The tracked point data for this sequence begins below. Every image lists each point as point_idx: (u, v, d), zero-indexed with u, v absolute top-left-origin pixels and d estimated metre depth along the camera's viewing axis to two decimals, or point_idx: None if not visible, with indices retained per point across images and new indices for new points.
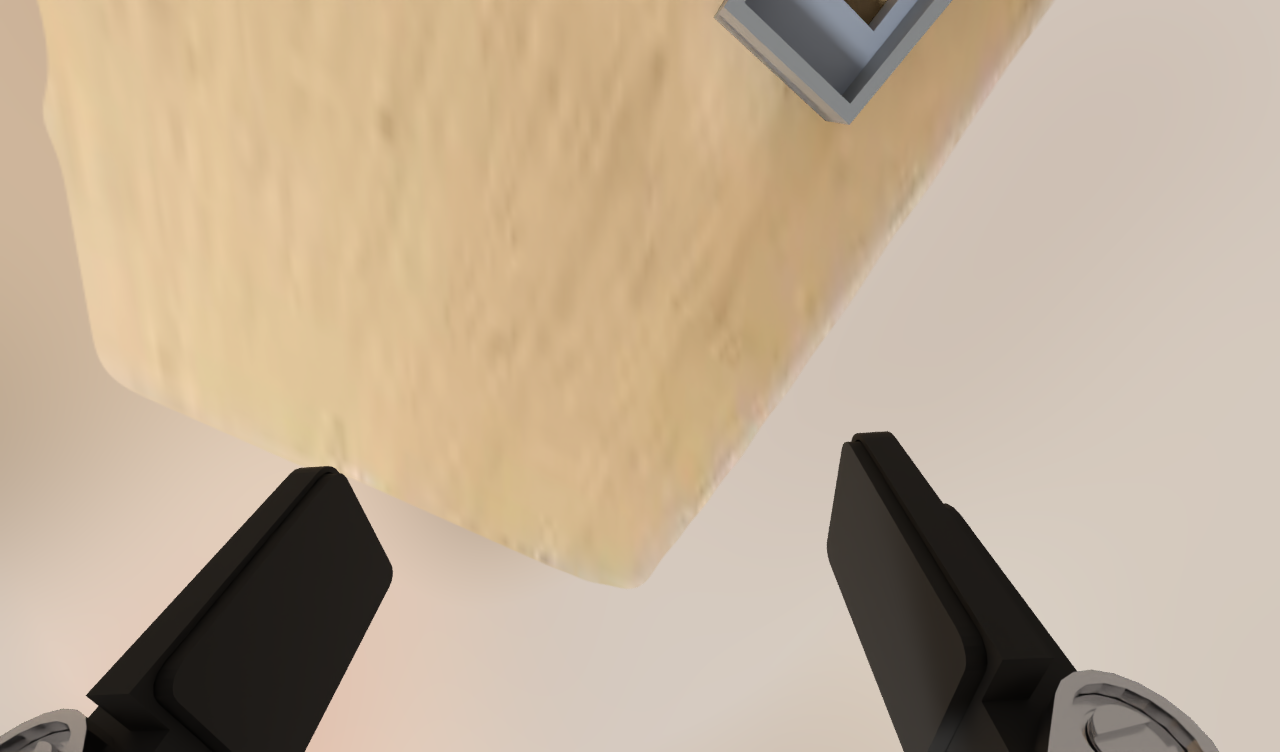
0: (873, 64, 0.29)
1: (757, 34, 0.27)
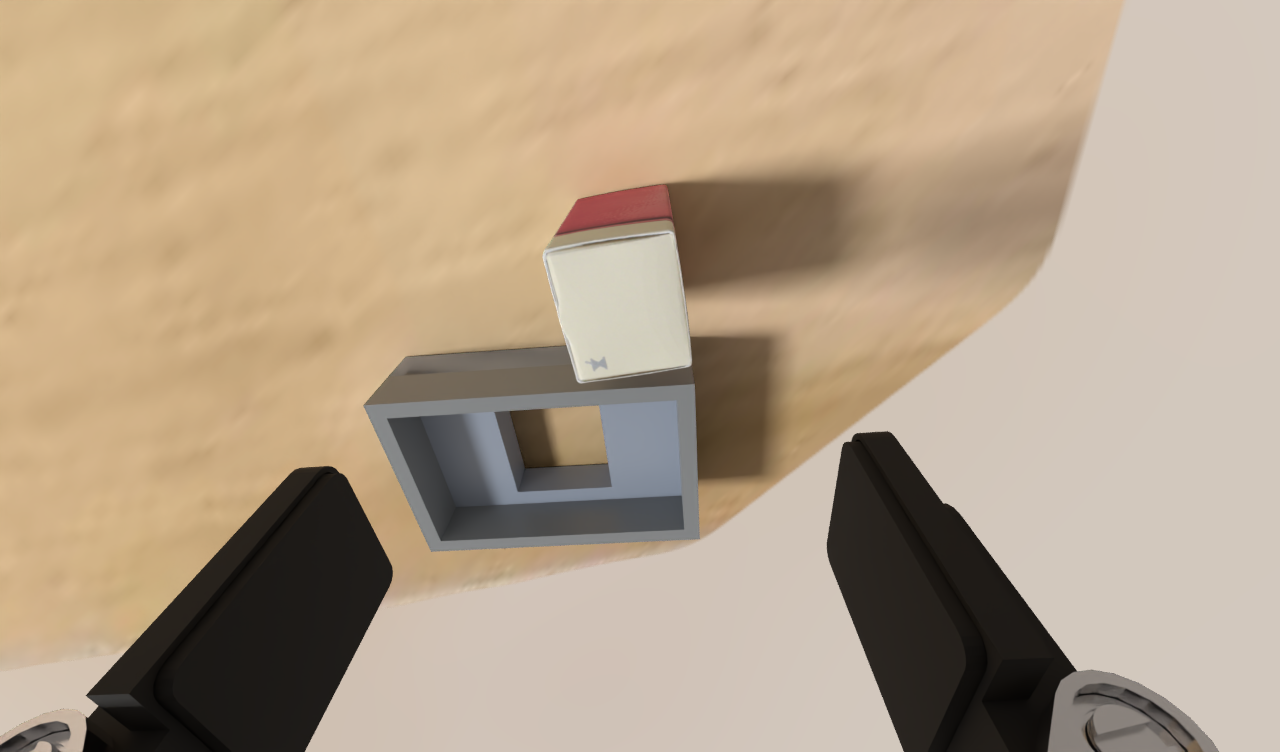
0: (491, 520, 0.28)
1: (384, 445, 0.23)
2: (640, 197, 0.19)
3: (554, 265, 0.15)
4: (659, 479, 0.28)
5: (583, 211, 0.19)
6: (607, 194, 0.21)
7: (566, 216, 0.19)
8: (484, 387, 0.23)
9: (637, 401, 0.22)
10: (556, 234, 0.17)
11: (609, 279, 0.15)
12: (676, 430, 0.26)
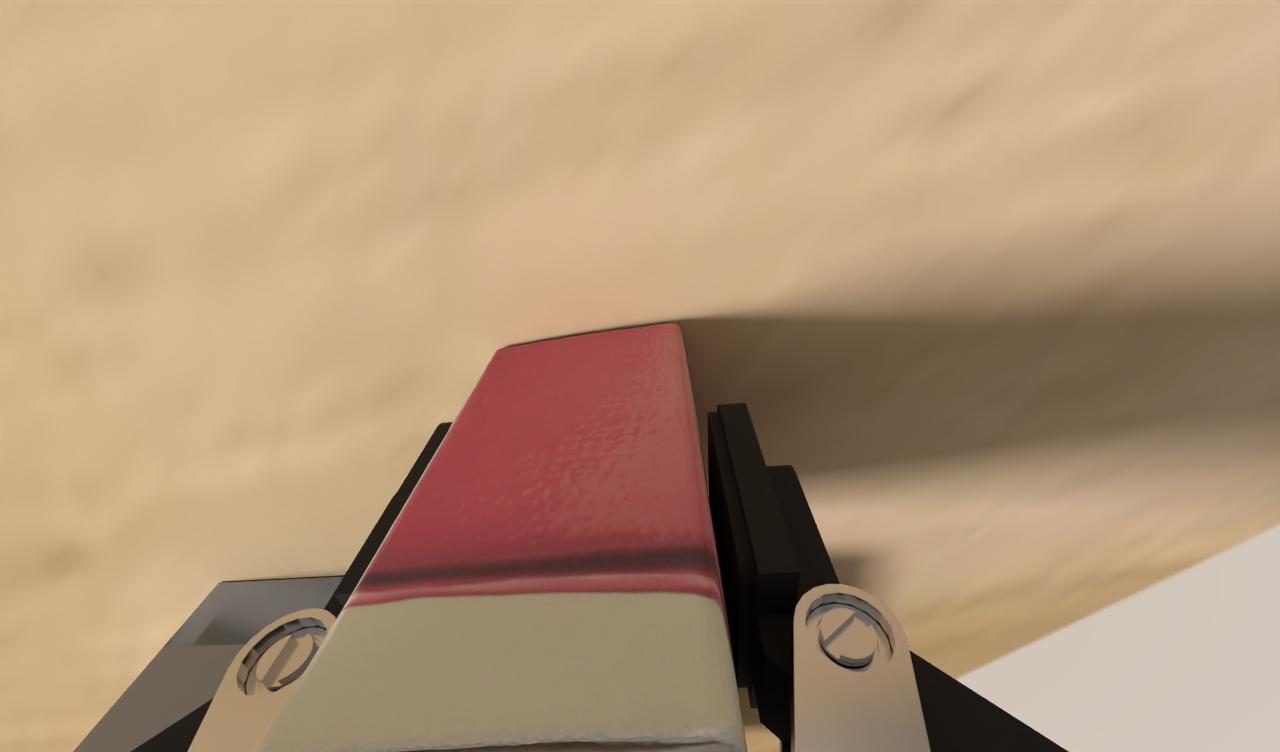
0: None
1: None
2: (622, 381, 0.08)
3: None
4: None
5: (486, 423, 0.08)
6: (556, 344, 0.10)
7: (447, 432, 0.08)
8: None
9: None
10: (364, 581, 0.06)
11: None
12: None
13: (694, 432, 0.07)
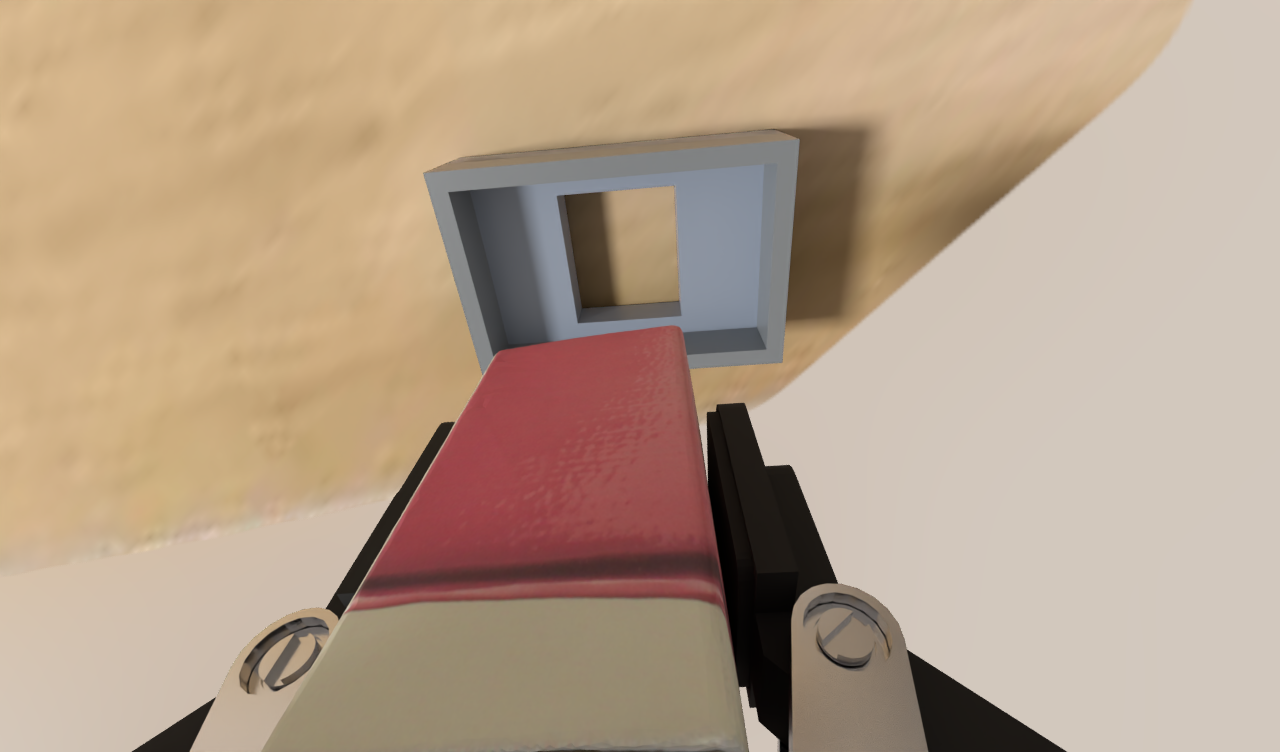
0: None
1: (442, 231, 0.21)
2: (624, 383, 0.08)
3: None
4: (734, 305, 0.25)
5: (487, 426, 0.08)
6: (557, 346, 0.10)
7: (448, 435, 0.08)
8: (558, 158, 0.20)
9: (731, 165, 0.19)
10: (365, 585, 0.06)
11: None
12: (759, 237, 0.23)
13: (696, 436, 0.07)
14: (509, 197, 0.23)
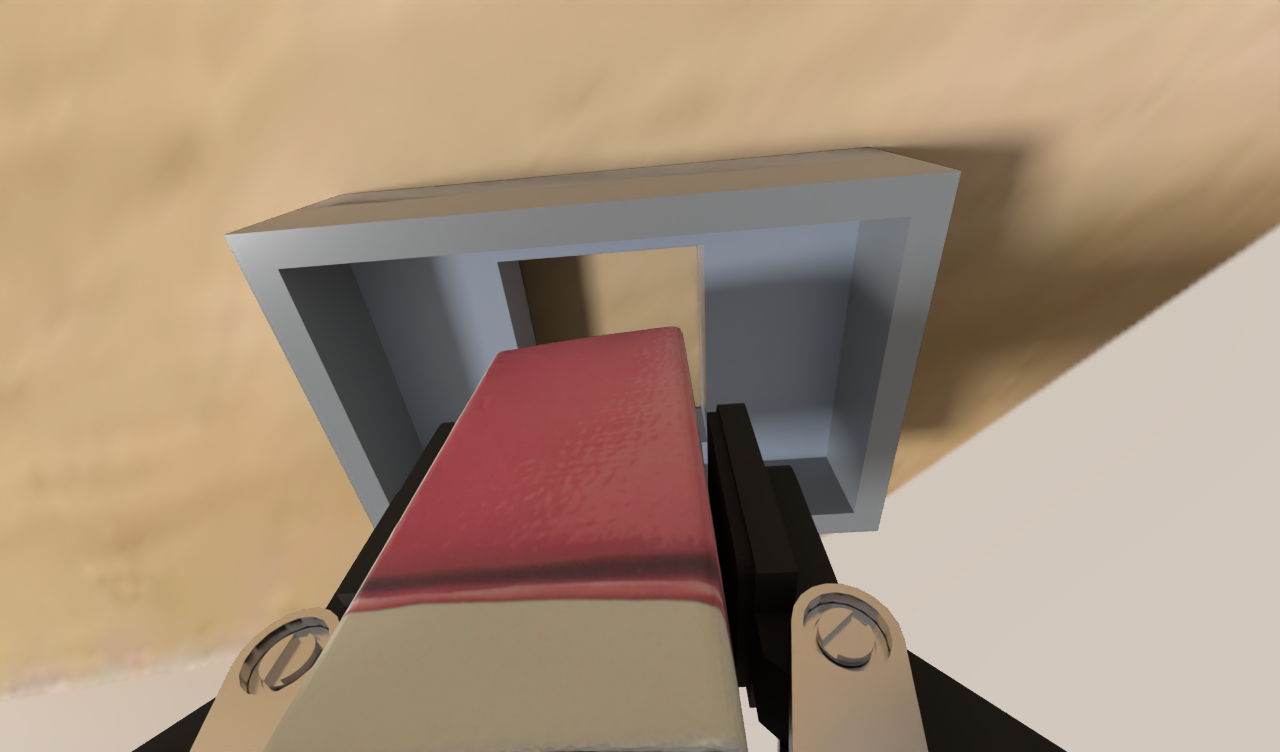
0: None
1: (280, 335, 0.11)
2: (623, 385, 0.08)
3: None
4: (793, 426, 0.16)
5: (487, 427, 0.08)
6: (557, 347, 0.10)
7: (448, 436, 0.08)
8: (487, 204, 0.11)
9: (821, 221, 0.10)
10: (365, 586, 0.06)
11: None
12: (841, 327, 0.14)
13: (696, 437, 0.07)
14: (416, 265, 0.13)
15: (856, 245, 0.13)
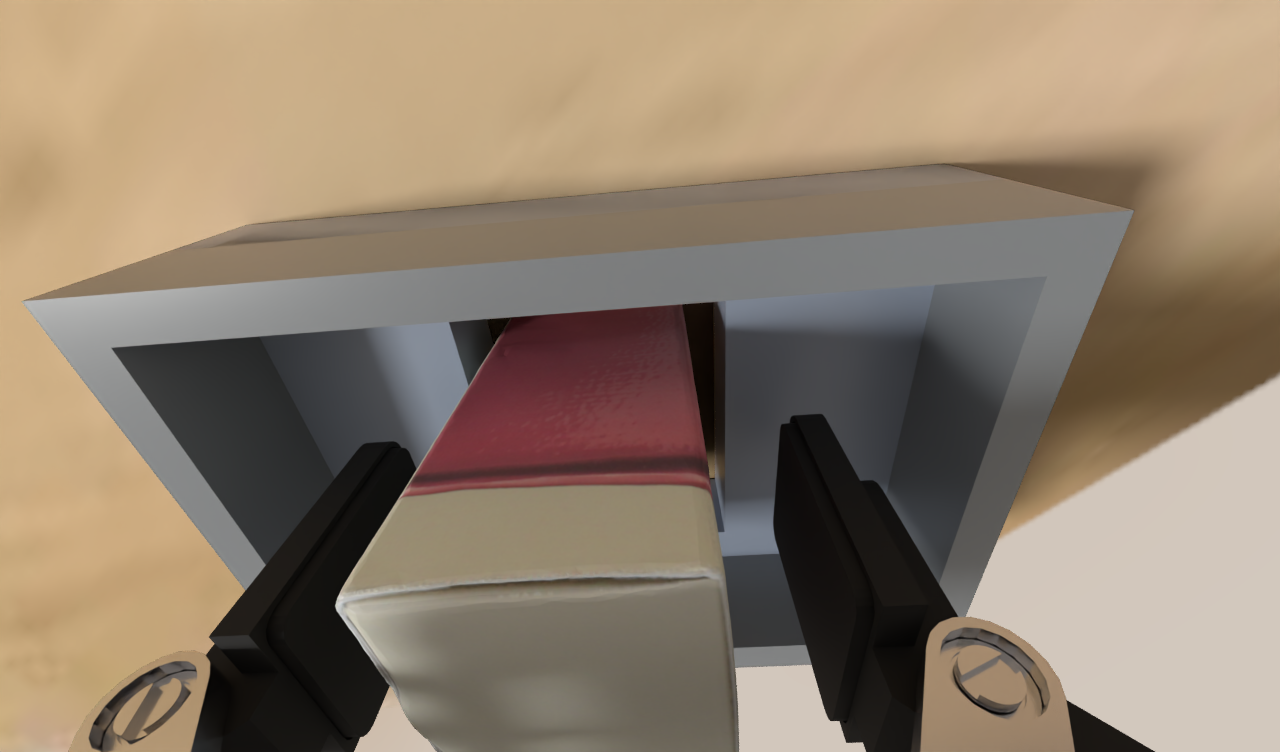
0: None
1: (130, 434, 0.08)
2: (629, 338, 0.10)
3: (370, 631, 0.05)
4: None
5: (509, 369, 0.09)
6: None
7: (474, 377, 0.09)
8: (418, 251, 0.07)
9: (911, 282, 0.07)
10: (414, 479, 0.07)
11: (532, 662, 0.05)
12: (904, 399, 0.11)
13: (692, 378, 0.08)
14: None
15: (932, 297, 0.09)
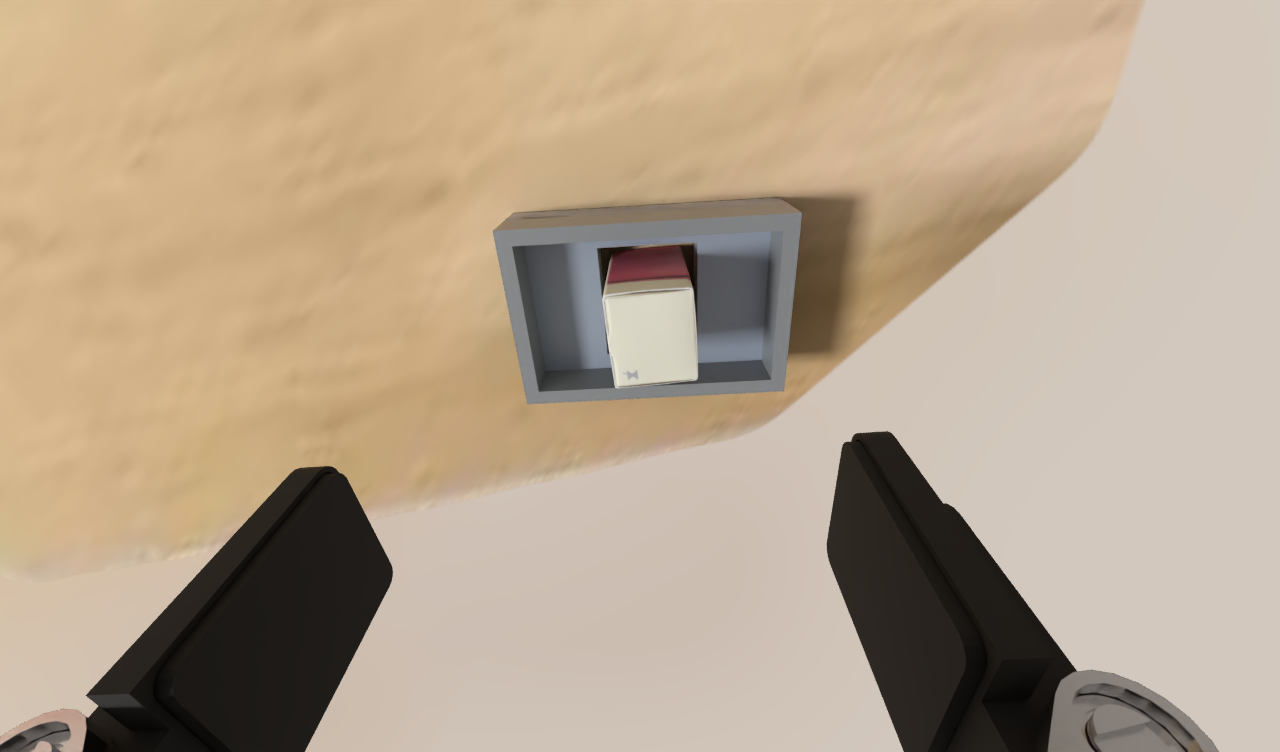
0: (583, 378, 0.29)
1: (504, 277, 0.25)
2: (663, 256, 0.27)
3: (609, 305, 0.22)
4: (743, 341, 0.29)
5: (622, 264, 0.26)
6: (636, 250, 0.28)
7: (609, 267, 0.26)
8: (603, 220, 0.24)
9: (747, 231, 0.24)
10: (608, 282, 0.24)
11: (646, 317, 0.22)
12: (765, 285, 0.28)
13: (685, 264, 0.25)
14: (557, 248, 0.27)
15: (770, 244, 0.27)
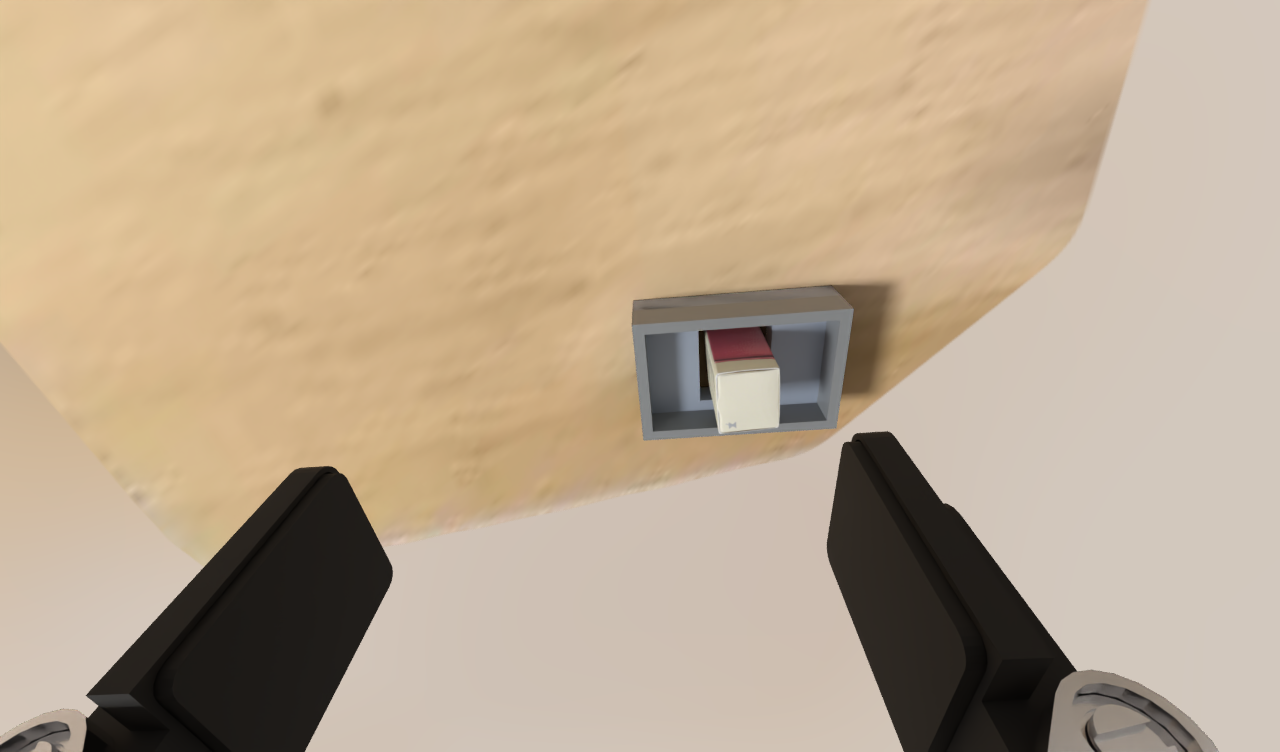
0: (683, 419, 0.39)
1: (636, 355, 0.35)
2: (747, 333, 0.36)
3: (720, 380, 0.32)
4: (803, 389, 0.39)
5: (718, 340, 0.36)
6: None
7: (709, 343, 0.36)
8: (708, 314, 0.34)
9: (813, 321, 0.33)
10: (715, 360, 0.33)
11: (746, 387, 0.32)
12: (822, 350, 0.37)
13: (766, 342, 0.35)
14: None
15: (826, 322, 0.36)
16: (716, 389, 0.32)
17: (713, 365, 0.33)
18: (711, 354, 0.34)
